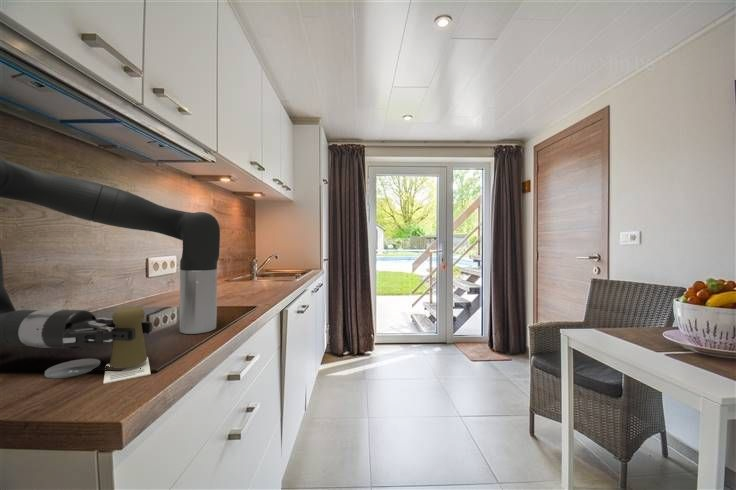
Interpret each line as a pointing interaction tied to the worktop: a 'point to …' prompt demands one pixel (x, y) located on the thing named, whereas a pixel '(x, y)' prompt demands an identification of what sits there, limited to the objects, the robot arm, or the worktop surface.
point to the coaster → (72, 368)
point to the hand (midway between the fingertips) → (142, 330)
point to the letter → (127, 372)
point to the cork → (128, 350)
